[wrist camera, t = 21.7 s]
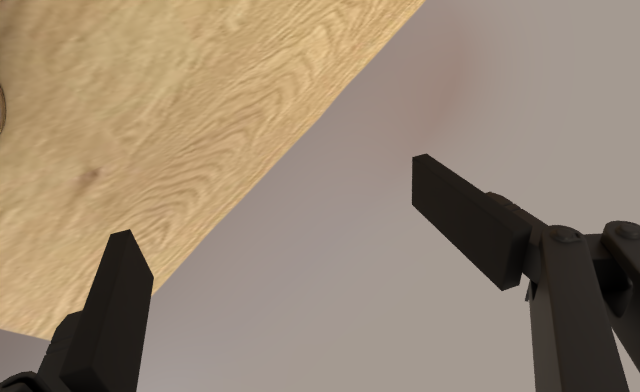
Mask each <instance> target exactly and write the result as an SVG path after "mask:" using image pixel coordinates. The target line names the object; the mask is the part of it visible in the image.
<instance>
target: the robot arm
mask: <svg viewBox="0 0 640 392" xmlns="http://www.w3.org/2000/svg"><path fill="white" fill-rule="evenodd" d="M5 115H6V108H5V100H4V96H3V92H2V89H1V87H0V133H1V131H2V129H3V126H4V122H5ZM412 162H413V163H412V205H413V206H414V207H415V208H416V209H417V210H418V211H419V212H420V213H421V214H422V215H423V216H425V218H427V219H428V220H429V221H430V222H431V223H432V224H433V225H434V226H435V227H436V228H437V229H438V230H439V231H440V232H441V233H442V234H443V235H444V236H445V237H446V238H447V239H448V240H449V241H450V242H452V244H453V245H455V246H456V247H457V248H458V249H459V250H460V251H461V252H462V253H463V254H464V255H465V256H466V257H467V258H468V259H469V260H470V261H471V262H472V263H473V264H474V265H475V266H476V267H477V268H478V269H479V270H480V271H482V272H483V273H484V274H485V275H486V276H487V277H488V278H489V279H490V280H491V281H492V282H493V283H494V284H495V285H496V286H497V287H498V288H499V289H500V290H501V291H504V290H506V289H509V288H512V287H515V286H518V285H519V284H520V279H521V275H522V273H523V274H525V275H526V276H527V277H528V278H529V279H530V282H529V286H528V290H527V294H526V298H525V301H528V300H529V303H530V317H531V330H532V345H533V360H534V374H535V388H536V392H629V388H628V385H627V381H626V378H625V374H624V371H623V367H622V364H621V360H620V356H619V353H618V349H617V346H616V343H615V339H614V336H613V332H612V329H613V330H614V332H615V333H616V335H617V337H618V338H619V340H620V341H621V343H622V345H623V346H624V348H625V350H626V351H627V353H628V354H629V356H630V357H631V359H632V361H633V362H634V364H635V366H636V367H637V369H638V371H639V372H640V225H638V224H635V223H631V222H627V221H611V222H609V223H607V224H606V225H605V228H604V231H603V233H602V234H586V235H583V234H581V233H580V232H579V231H577V230H575V229H573V228H570V227H567V226H561V225H552V226H548V225H546V224H545V223H543V222H542V221H540V220H539V219H537V218H536V217H534V216H533V215H531V214H530V213H528V212H527V211H525V210H523V209H521V208H520V207H519V206H517V205H516V204H513V203H512V202H511V201H510V200H508V199H506V198H505V197H503V196H501V195H498V194H495V193H492V192H488V193H484V192H482V191H481V190H479V189H478V188H476V187H475V186H473V185H472V184H470V183H469V182H468V181H466V180H465V179H463V178H462V177H460V176H459V175H457V174H456V173H454V172H453V171H451V170H450V169H448V168H447V167H445V166H444V165H442V164H441V163H439V162H438V161H436V160H435V159H434V158H432V157H431V156H429V155H428V154H423V155H419V156H415V157H413V159H412ZM153 280H154V277H153V275H152V273H151V270H150V268H149V266H148V264H147V262H146V260H145V258H144V256H143V254H142V252H141V250H140V248H139V246H138V244H137V242H136V240H135V238H134V236H133V234H132V232H131V230H130V229H129V230H125V231H121V232H117V233H113V234H111V235H110V237H109V240H108V243H107V246H106V248H105V251H104V254H103V257H102V259H101V262H100V265H99V267H98V270H97V273H96V276H95V278H94V281H93V284H92V287H91V289H90V292H89V295H88V298H87V300H86V303H85V306H84V308H83V310H82V311H79V312H75V313H72V314H68V315H67V316H66V317H65V319H64V320H63V321H62V322H61V323H60V325H59V326H58V327H57V328H56V330H55V333H54V335H53V337H52V340H51V344H50V345H49V347H48V349H47V351H46V355H45V356H44V358H43V361H42V363H41V366H40V368H39V370H38V373H37V374H36V373H34V372H32V371H29V372H21V373H19V374H16V375H13V376H11V377H9V378H8V379H6V380H4V381H3V382H1V383H0V392H136V389H137V383H138V377H139V369H140V364H141V356H142V351H143V344H144V338H145V331H146V325H147V319H148V312H149V305H150V299H151V293H152V287H153ZM611 327H612V328H611Z"/></svg>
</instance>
